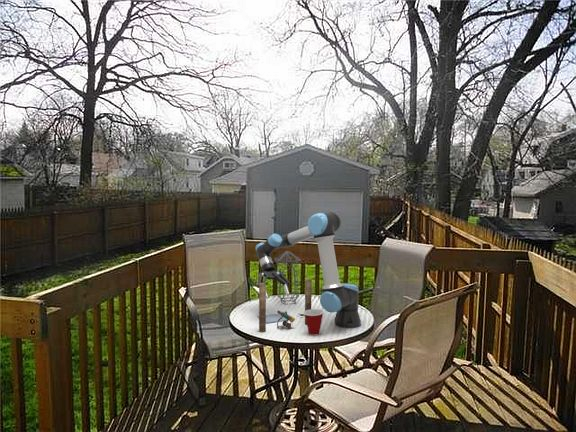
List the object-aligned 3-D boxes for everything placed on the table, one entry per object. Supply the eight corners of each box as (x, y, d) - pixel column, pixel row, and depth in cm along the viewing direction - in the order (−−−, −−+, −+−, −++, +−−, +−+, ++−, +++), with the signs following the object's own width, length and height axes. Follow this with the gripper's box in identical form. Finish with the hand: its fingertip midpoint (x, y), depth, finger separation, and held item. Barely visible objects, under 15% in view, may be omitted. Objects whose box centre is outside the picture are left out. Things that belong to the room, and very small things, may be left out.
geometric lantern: (279, 306, 291) (278, 253, 289) (274, 300, 306) (273, 250, 304) (302, 304, 294) (302, 252, 293) (296, 299, 310) (295, 249, 308)
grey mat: (288, 320, 260) (288, 319, 260) (266, 323, 254) (266, 322, 254) (278, 314, 273) (278, 313, 273) (257, 317, 267) (257, 316, 267)
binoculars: (288, 334, 243) (297, 317, 245) (276, 327, 239) (285, 310, 241) (281, 329, 251) (289, 313, 253) (268, 322, 247) (277, 306, 249)
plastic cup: (302, 330, 243) (302, 308, 242) (322, 329, 244) (322, 308, 243) (304, 336, 232) (304, 314, 231) (325, 336, 233) (325, 314, 232)
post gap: (312, 324, 252) (312, 279, 250) (260, 332, 239) (260, 284, 237) (309, 323, 255) (309, 278, 254) (258, 330, 242) (258, 283, 240)
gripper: (284, 267, 277) (294, 297, 264) (246, 270, 266) (255, 301, 254) (287, 260, 271) (298, 290, 259) (249, 263, 261) (258, 294, 248)
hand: (277, 296), depth 256 cm, fingers open, 13 cm apart
